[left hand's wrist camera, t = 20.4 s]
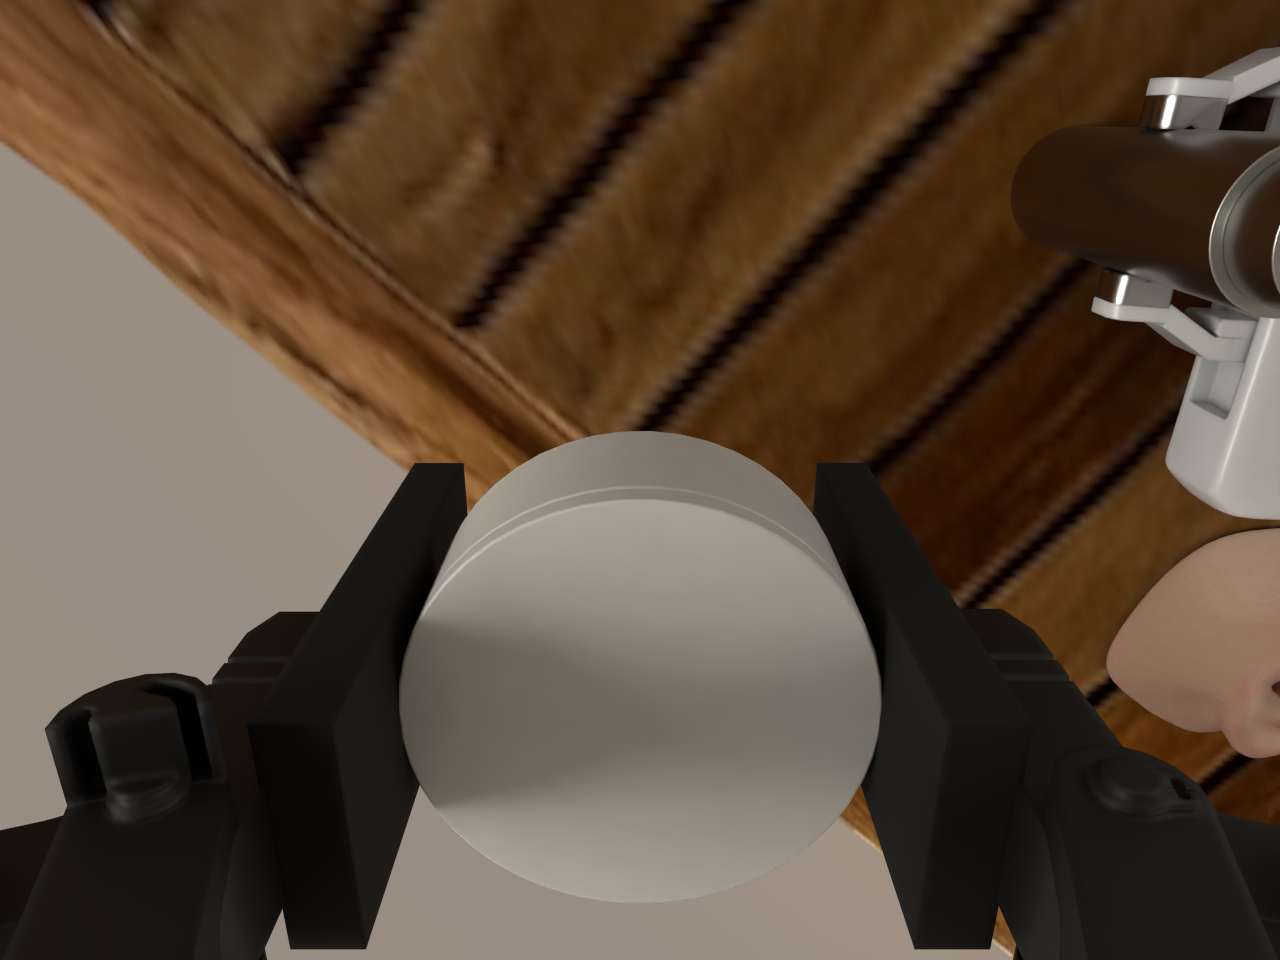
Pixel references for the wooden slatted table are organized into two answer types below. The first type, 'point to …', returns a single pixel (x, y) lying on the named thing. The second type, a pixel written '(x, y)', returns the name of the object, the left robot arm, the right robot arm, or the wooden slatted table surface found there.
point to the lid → (640, 673)
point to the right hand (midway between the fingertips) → (1126, 202)
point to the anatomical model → (1210, 643)
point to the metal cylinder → (1162, 207)
